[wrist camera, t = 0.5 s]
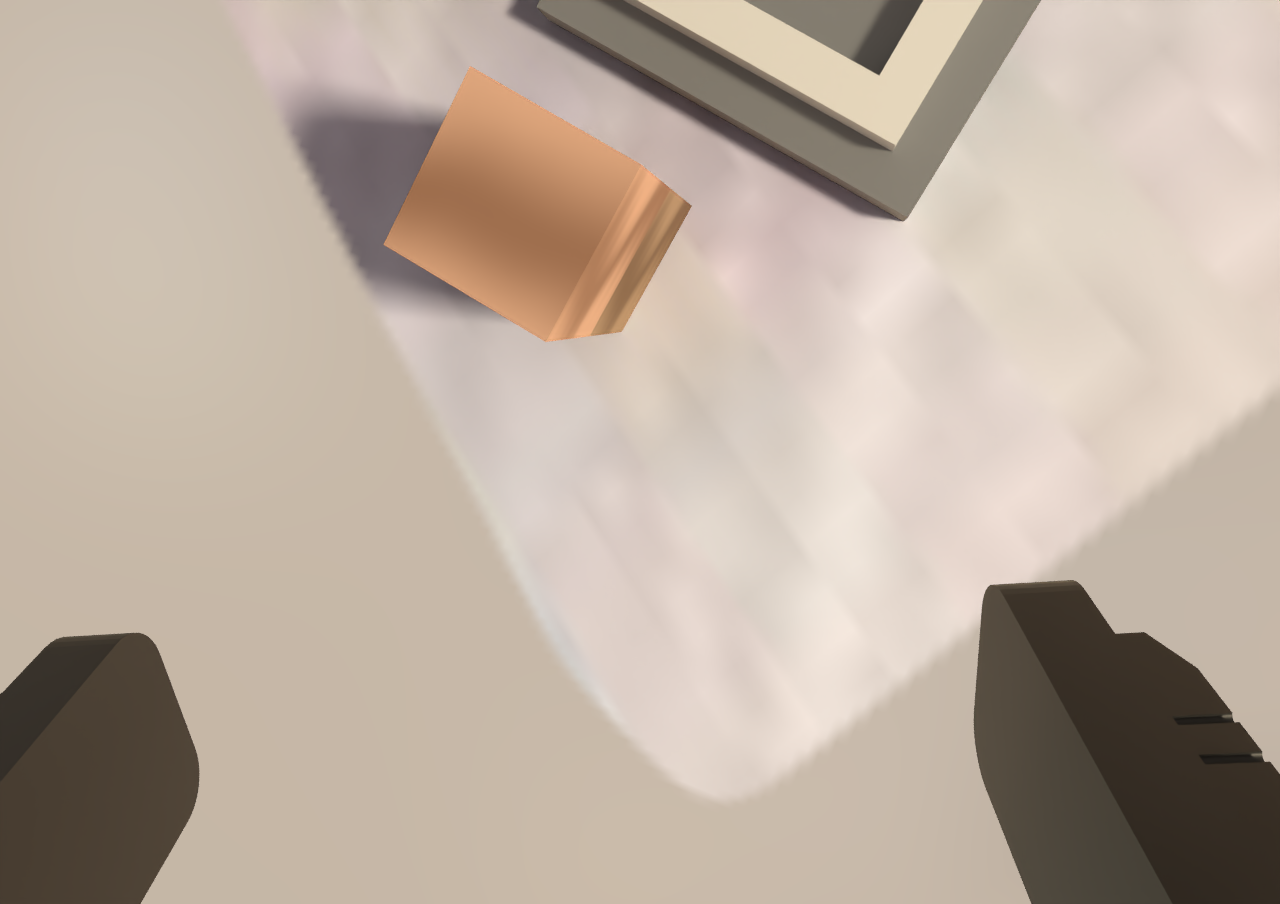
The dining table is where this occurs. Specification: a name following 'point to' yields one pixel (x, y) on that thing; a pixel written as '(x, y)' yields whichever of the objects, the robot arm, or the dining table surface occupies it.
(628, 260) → the copper rectangular block
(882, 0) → the pocket board
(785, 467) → the dining table surface
